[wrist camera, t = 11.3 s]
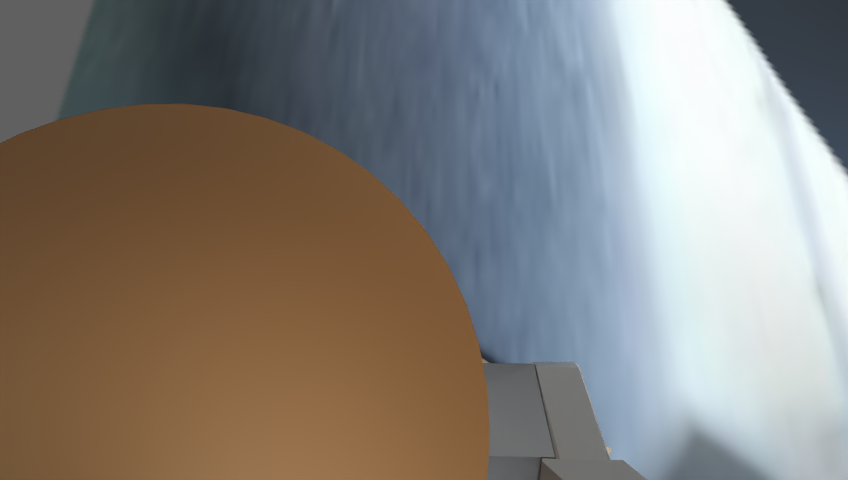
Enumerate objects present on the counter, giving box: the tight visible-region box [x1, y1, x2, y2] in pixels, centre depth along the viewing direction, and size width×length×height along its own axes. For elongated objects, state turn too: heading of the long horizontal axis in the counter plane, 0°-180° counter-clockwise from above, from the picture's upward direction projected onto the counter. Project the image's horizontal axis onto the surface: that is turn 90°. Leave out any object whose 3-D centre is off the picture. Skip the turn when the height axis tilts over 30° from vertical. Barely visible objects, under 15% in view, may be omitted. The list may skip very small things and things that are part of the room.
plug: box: [0, 104, 490, 480], centre depth 10 cm, size 4×4×12 cm
